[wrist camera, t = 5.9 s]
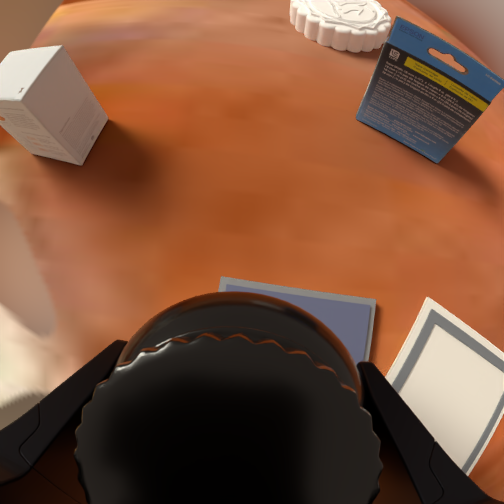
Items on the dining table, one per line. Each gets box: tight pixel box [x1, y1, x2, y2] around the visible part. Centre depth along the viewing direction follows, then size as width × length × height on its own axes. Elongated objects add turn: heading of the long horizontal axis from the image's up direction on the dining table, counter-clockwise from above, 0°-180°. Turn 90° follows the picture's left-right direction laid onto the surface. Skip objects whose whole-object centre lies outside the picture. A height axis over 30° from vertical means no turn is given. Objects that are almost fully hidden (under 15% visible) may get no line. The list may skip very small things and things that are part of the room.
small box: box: [0, 45, 108, 165], centre depth 22 cm, size 8×6×10 cm
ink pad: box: [218, 276, 376, 366], centre depth 21 cm, size 11×11×1 cm
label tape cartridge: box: [356, 16, 504, 163], centre depth 20 cm, size 9×4×12 cm, turn 62°
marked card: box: [385, 297, 504, 476], centre depth 20 cm, size 14×14×1 cm
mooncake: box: [290, 0, 391, 53], centre depth 29 cm, size 12×12×4 cm
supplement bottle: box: [74, 291, 384, 504], centre depth 9 cm, size 7×7×12 cm
